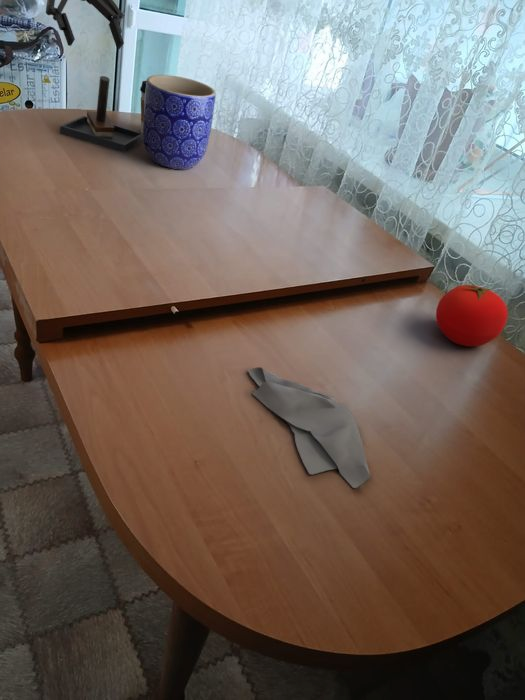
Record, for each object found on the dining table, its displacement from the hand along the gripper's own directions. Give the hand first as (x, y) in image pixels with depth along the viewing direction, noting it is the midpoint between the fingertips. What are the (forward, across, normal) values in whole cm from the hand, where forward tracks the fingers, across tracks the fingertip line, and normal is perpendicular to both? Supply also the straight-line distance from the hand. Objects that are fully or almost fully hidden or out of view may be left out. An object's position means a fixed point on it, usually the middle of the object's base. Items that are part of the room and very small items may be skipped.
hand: (96, 44), depth 138 cm
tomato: (+96, -21, +59) cm, 114 cm away
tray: (+14, -6, -22) cm, 27 cm away
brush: (+11, -6, -23) cm, 26 cm away
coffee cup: (+14, -23, -22) cm, 35 cm away
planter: (+29, -16, -7) cm, 34 cm away
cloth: (+96, +24, +59) cm, 115 cm away
